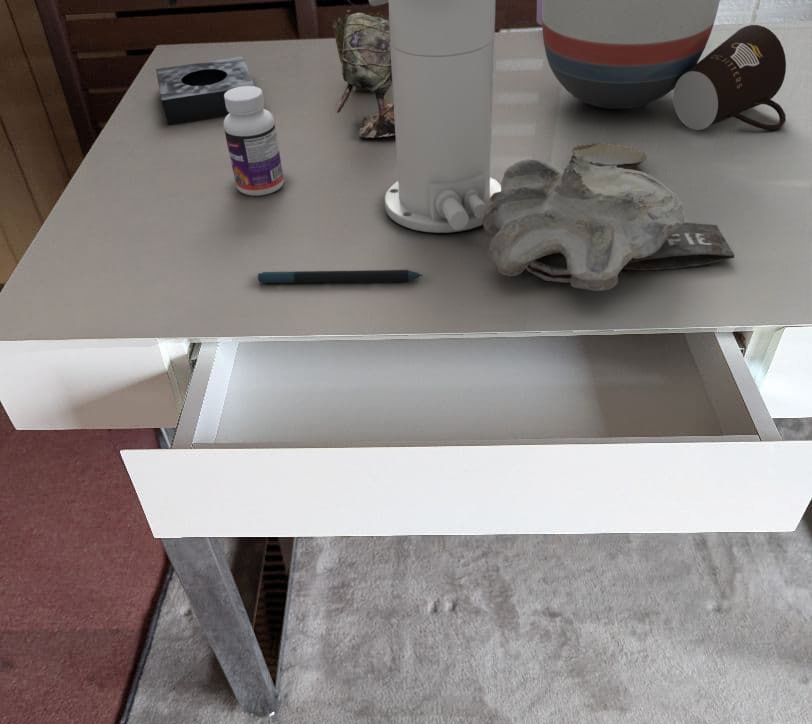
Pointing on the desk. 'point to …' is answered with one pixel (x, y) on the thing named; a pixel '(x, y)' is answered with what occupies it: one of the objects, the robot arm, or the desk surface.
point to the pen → (337, 276)
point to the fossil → (579, 219)
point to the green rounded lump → (340, 36)
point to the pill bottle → (252, 142)
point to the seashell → (610, 155)
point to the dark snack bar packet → (663, 253)
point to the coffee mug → (733, 80)
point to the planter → (624, 46)
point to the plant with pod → (369, 69)
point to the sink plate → (200, 88)
